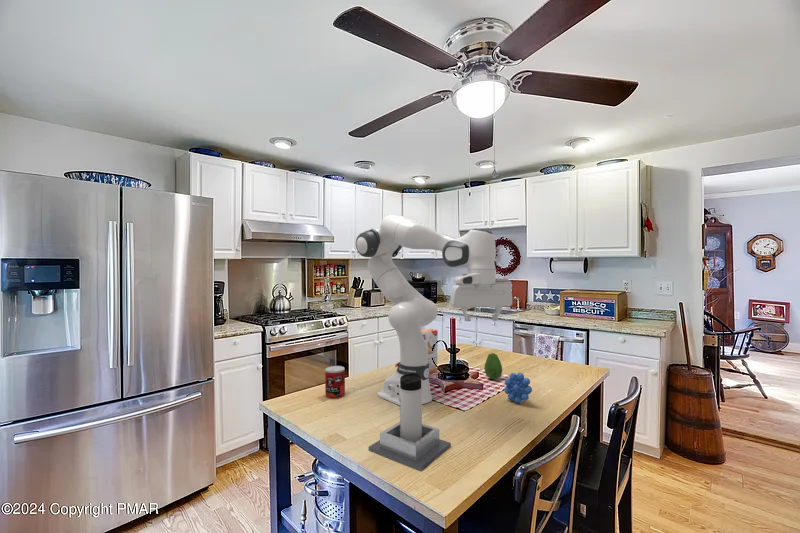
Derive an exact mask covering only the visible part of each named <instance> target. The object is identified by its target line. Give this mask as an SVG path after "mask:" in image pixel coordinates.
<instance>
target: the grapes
mask: <svg viewBox="0 0 800 533" xmlns="http://www.w3.org/2000/svg"><path fill="white" fill-rule="evenodd" d="M530 383H531V379H530V378H529V377H525V375H524V373H523V372H518V373H517V374H516V373H514V372H512V373H510V374H509V377H508V378H505V381H504V385H505V387H504V389H503V392H504V393H505V394H507V399H508V400H510V401H511V402H513V401H514V402H515V403H516V404H519V405H520V404H521V403H522V402H527V401H528V400H529V398H530V396H529V394H531V393H532V392H533V389H532V387H531V385H530Z"/></svg>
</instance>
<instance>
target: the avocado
mask: <svg viewBox="0 0 800 533" xmlns="http://www.w3.org/2000/svg"><path fill="white" fill-rule="evenodd" d="M502 373H503V366H502V362H501V361H500V358H499V356H498V354H497V353H489V354H488V355H487V358H486V360H485V363H484V374H485V375H486V376H487V377H488V379H491V380H495V381H496V380H499V379H500V378H501V377H502V375H503V374H502Z"/></svg>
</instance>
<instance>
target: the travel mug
mask: <svg viewBox="0 0 800 533" xmlns="http://www.w3.org/2000/svg"><path fill="white" fill-rule="evenodd" d="M400 384H401V385H400V405H399V418H400V419H399V422H400V438H402V439H405V440H408V441H411V442H413V443H415V442H417V441H418V440H419V439H421V438H422V424H423V422H422V421H423V420H422V419H423V418H422V417H423V416H422V415H423V412H422V410H423V408H422V407H423V406H422V405H423V404H422V390H421V389H422V387H421V376H420V375H418V373H411V374H406V375H403V376H401V378H400Z"/></svg>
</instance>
